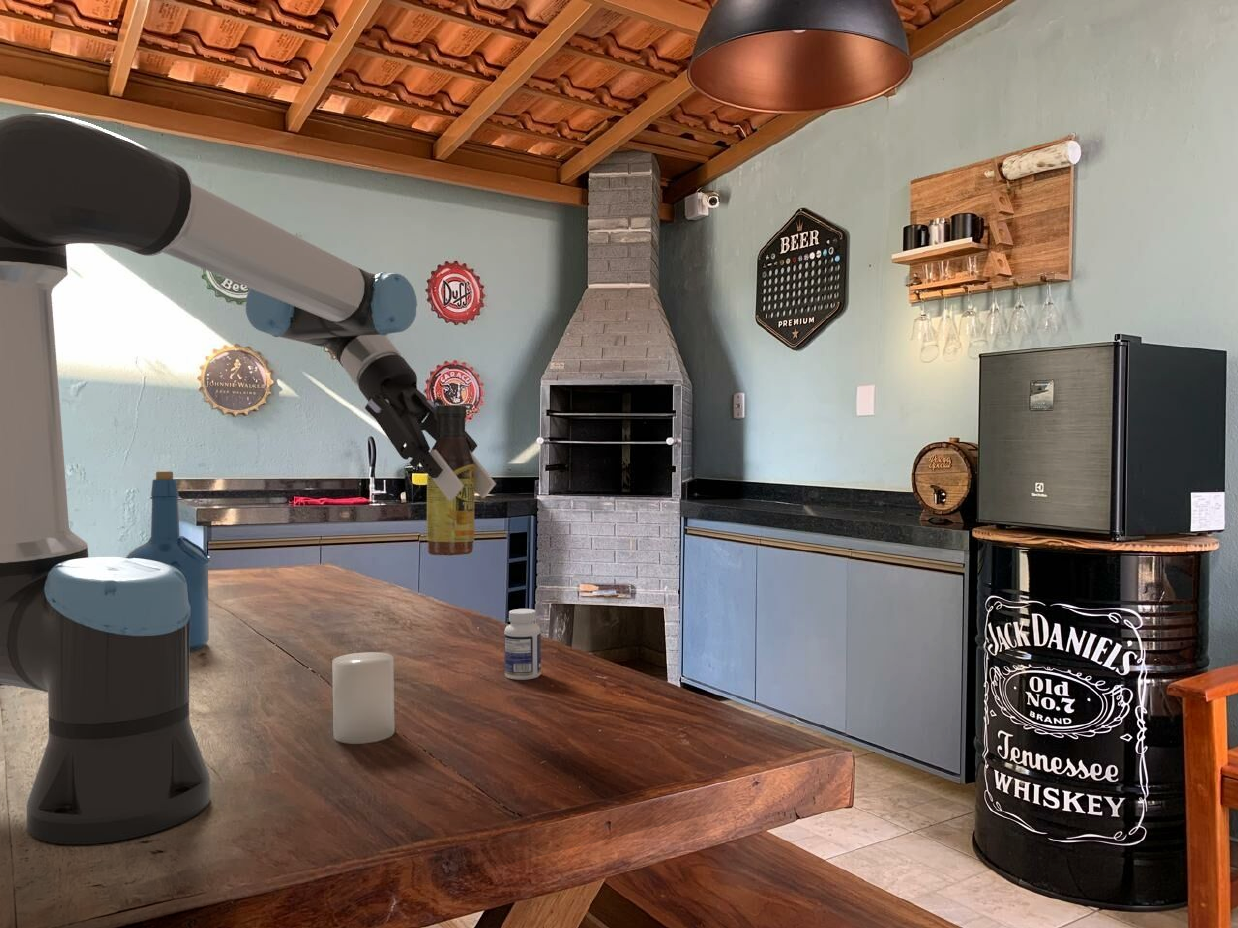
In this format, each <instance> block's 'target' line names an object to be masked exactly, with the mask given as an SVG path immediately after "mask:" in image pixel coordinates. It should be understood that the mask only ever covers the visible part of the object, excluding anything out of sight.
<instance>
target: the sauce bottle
mask: <svg viewBox="0 0 1238 928" xmlns="http://www.w3.org/2000/svg"><path fill="white" fill-rule="evenodd" d="M467 413H468V412H467V406H466V405H463V404H462V405H461V404H445V405H437V406H436V416H437V435H436V436H437V438H438V439H437V441H436V440H435V443H434V445H433V446H432V448H430V450H429V452H431V451H432V450H437V451H438V453H439V454H440V455H441V457H442V458H443V459H444V460H445V462H446V463H447V464H448V466H449V467H450V468H451V469H452V471H453V472H454V473H455V475H456V476H457V477H458V479H459V480H460V481H461V482H462V484H463V485H464V486H463V488H462V489H461V490H460V491H459V493H458V494H457V495H456V496H455V498H454V499H453V500H448V499H447V498H446V496H445V495H444V494H443V492H442V491H441V490H440V488H439V487H438V486H437V484H436V483H435V482H434V480H433V479H432V478H431V477H430V476H429V475H428V474H427V475H426V541H427V552H428V554H430V555H433V556H447V557H448V556H460V555H461V556H463V555H468V554H471V553H472V552H473V548H474V544H473V543H474V541H475V491H476V490H475V489H474V478H475V465H474V462H473V459H472V456H471V453H470V450H469V447H468V444H467V441H466V434H465V431H466V417H467V415H468V414H467Z"/></svg>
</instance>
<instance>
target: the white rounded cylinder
mask: <svg viewBox="0 0 1238 928" xmlns="http://www.w3.org/2000/svg"><path fill="white" fill-rule="evenodd" d="M331 663H332V667H331V669H332V670H331V671H332V672H331V673H332V677H331V678H332V722H333V723H332V725H333V727H332V728H333V729H332V731H333V732H332V733H333V740H335V741H337V742H338V743H342V744H348V745H351V744H352V745H358V744H359V745H360V744H361V745H363V744H371V743H376V742H379V741H384V740H387V739H389V738H390V737H392V736H393V735H394V734H395V687H394V686H395V684H394V682H395V679H394V678H395V677H394V673H395V672H394V656H393V655H392V654H390V653H386V652H380V651H379V652H378V651H377V652H376V651H375V652H374V651H371V652H370V651H369V652H368V651H366V652H354V653H348V654H344V655H340V656H338V657H335V658H333V660H331Z"/></svg>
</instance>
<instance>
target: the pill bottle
mask: <svg viewBox="0 0 1238 928" xmlns="http://www.w3.org/2000/svg"><path fill="white" fill-rule="evenodd" d="M536 611H537V610H535V609H532V608H518V609H517V608H516V609H512V610H509V611H508V621H509V622H510V624H508V625H506V627H505V629H504V633H503V634H504V636H503V637H504V639H503V640H504V676H505V677H506V679H510V680H516V681H527V680H533V679H536V678H539V677H540V675H541V674H542V647H541V645H542V644H541V643H542V637H541V636H542V635H541V634H542V633H541V627H540V626H539V624H536V623H535V622H536V620H537V612H536Z"/></svg>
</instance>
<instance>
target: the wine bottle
mask: <svg viewBox="0 0 1238 928" xmlns="http://www.w3.org/2000/svg"><path fill="white" fill-rule="evenodd" d="M150 491H151V493H150V497H149V499H150V500H151V516H150V519H151V520H150V537H149V539H148V540H147V541H146V542H144V543H143V544H141V545H140V546H137V547H136V548H134V549H133V550H130V551H129V552H128V553H127V554H126V556H125V558H129V559H130V558H140V559H147V560H153V561H158V562H162V563H165V564H168V565H171V566H173V567H175V568H176V569H178V570H179V571H180V572H181V573H182V574H183V576H184V577H185V579H186V583H187V593H188V602H189V605H190V608H191V612H190V652H193V651H196V650H199V649H201V648H203V647H205V646H207V644H208V641H209V638H210V637H209V634H210V633H209V629H210V628H209V626H210V625H209V624H210V623H209V621H210V620H209V619H210V618H209V566H208V565H209V564H210V563H211V560H212V559H211V557H210V556H209V554H208V553H207V552H206V551H205V550H204V549H203V548H202V547H201V546H199V545H198V544H195V543H194V542H192V541H191V540H190V539H188V538H186V537H185V536H183V535H180V523H179V522H180V521H179V519H180V518H179V502H178V501H179V500H178V499H180V496H179V488H178V480H177V479H176V478H174V472H173V471H172V470H158V471H156V472H155V478H154V479H152V483H151V489H150Z"/></svg>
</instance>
